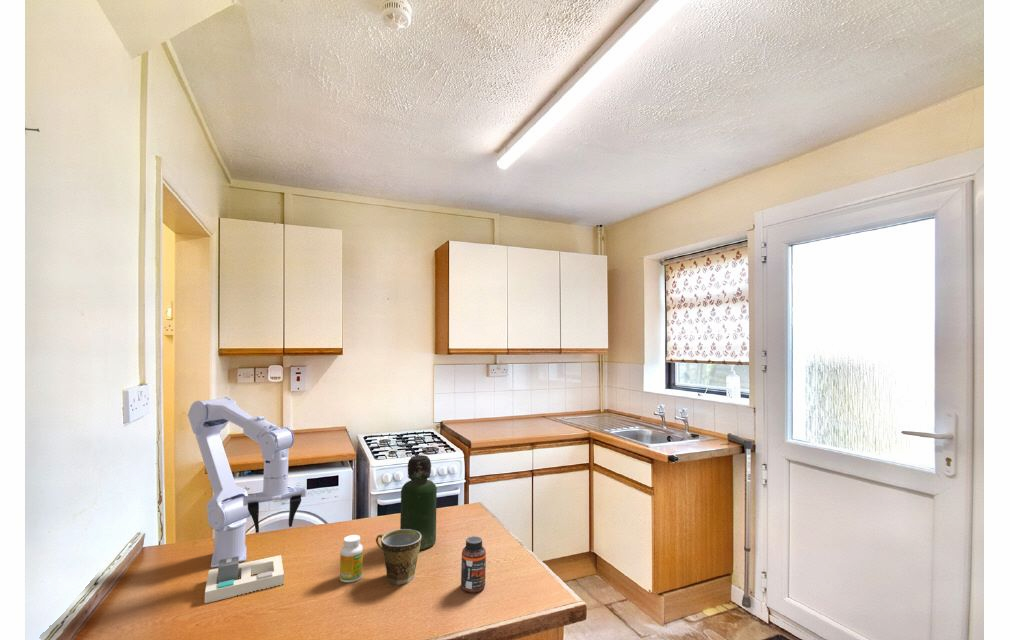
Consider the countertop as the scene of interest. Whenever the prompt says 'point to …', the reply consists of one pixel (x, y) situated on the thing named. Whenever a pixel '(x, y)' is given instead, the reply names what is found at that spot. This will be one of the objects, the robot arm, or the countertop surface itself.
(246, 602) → the countertop surface
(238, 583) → the socket board
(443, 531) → the countertop surface
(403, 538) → the ceramic cup
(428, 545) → the green bottle
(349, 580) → the supplement bottle
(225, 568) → the plug
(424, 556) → the countertop surface
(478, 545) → the supplement bottle
